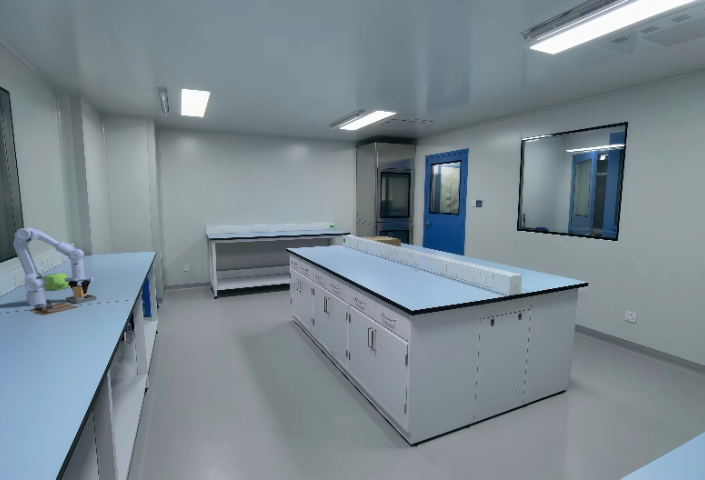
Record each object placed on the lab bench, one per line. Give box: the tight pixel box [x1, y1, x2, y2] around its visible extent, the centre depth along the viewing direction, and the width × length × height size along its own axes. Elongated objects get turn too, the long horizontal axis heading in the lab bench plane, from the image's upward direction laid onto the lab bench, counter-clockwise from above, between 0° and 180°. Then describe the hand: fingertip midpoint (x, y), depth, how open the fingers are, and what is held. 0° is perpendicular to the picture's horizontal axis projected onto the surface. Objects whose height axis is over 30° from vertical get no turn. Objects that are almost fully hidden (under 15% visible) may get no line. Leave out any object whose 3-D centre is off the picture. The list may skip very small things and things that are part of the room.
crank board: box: [27, 302, 79, 316], centre depth 197 cm, size 18×16×1 cm
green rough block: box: [42, 272, 70, 291], centre depth 242 cm, size 18×10×10 cm, turn 72°
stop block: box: [72, 284, 88, 299], centre depth 211 cm, size 4×4×6 cm
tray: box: [65, 293, 97, 305], centre depth 212 cm, size 12×10×3 cm
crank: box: [33, 299, 53, 311], centre depth 193 cm, size 16×4×6 cm, turn 61°
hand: (80, 293), depth 211 cm, fingers closed on stop block, 4 cm apart
